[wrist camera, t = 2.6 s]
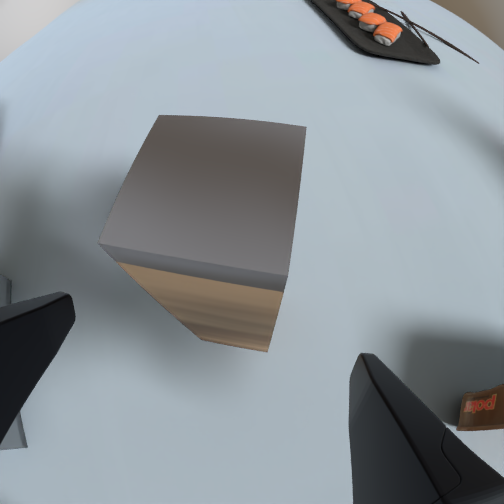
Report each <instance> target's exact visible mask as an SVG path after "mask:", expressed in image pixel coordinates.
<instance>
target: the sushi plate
mask: <svg viewBox="0 0 504 504" xmlns="http://www.w3.org/2000/svg"><path fill="white" fill-rule="evenodd" d="M311 1H312V2H313V3H315V4H316V5H317V6H318V7H319V8H320V9H321V10H322V11H323V12H324V13H325V14H326V15H327V16H328V17H329V18H330V19H331V20H332V21H333V22H334V23H335V24H336V25H337V26H338V27H339V28H340V29H341V31H342V32H343V33H344V34H345V35H346V36H347V37H348V38H349V39H350V40H351V41H352V42H353V43H354V44H355V45H356V46H358V47H359V48H361V49H362V50H364V51H366V52H369V53H372V54H376V55H380V56H386V57H391V58H398V59H404V60H410V61H415V62H421V63H427V64H434V65H436V64H440V59H439V58H438V56H437V55H436V54H435V53H434V52H433V51H432V50H431V49H430V48H429V46H428V44H427V43H426V42H425V40H424V39H423V37H422V36H421V35H420V33H419V32H418V31H417V29H416V28H415V27H414V26H413V25H415V26H417V27H419V28H421V29H422V30H424V31H426V32H428V33H429V34H431V35H433V36H434V37H436V38H438V39H439V40H441V41H442V42H444V43H446V44H447V45H449V46H450V47H452V48H453V49H455V50H456V51H458V52H460V53H462V54H463V55H465V56H467V57H469V58H470V59H472V60H473V61H475V62H477V61H476V60H474V59H473V58H471V57H470V56H469V55H467V54H466V53H464V52H463V51H461V50H460V49H458V48H457V47H455V46H453V45H452V44H450V43H449V42H447V41H445V40H444V39H442V38H440V37H439V36H437V35H435V34H433V33H432V32H430V31H428V30H426V29H425V28H423V27H421V26H419V25H417V24H415V23H413V22H411V21H410V20H409V19H408V18H407V16H406V15H405V14H404V13H403V12H402V11H401V13H402V15H403V16H404V18H403V17H401V16H399V15H397V14H395V13H393V12H391V11H389V10H387V9H384V8H382V7H380V6H379V5H377V4H376V3H374V2H372V1H370V0H311ZM388 12H389V13H391V14H393V15H396V16H398V17H400V18H402V19H404V20H406V21H407V22H408V23H409V24H410V25H411V26H412V28H413V29H414V30H415V31H416V33H417V34H418V35H419V37H420V38H421V39H422V41H421V40H420V39H419V38H418V37H417V36H416V35H415V34H414V33H412V32H411V31H410V30H409V29H408V28H407V27H405V26H404V25H403V24H402V23H401V22H399V21H398V20H397V19H396V18H394V17H393V16H392V15H391V14H389V13H388ZM477 63H478V62H477ZM478 64H479V63H478Z"/></svg>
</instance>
